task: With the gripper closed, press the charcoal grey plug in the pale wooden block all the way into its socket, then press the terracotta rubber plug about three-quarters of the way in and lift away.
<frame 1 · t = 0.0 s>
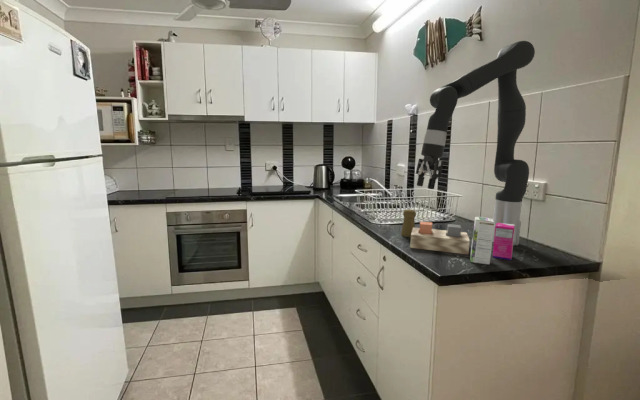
hand: (424, 187, 123), 22 cm above the countertop, tool pointing down, fingers open, 8 cm apart
terracotta plug: (425, 229, 126), point 6 cm above the countertop, slide at 0.0 cm
syrup box: (479, 261, 110), on the countertop
cork: (408, 235, 140), on the countertop
supplement box: (501, 257, 115), on the countertop
grey plug: (453, 232, 123), point 6 cm above the countertop, slide at 0.0 cm
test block: (438, 246, 125), on the countertop
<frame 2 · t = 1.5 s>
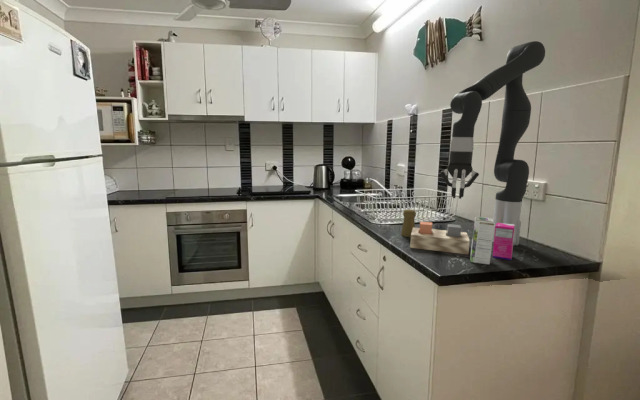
hand: (456, 198, 121), 19 cm above the countertop, tool pointing down, fingers closed
nothing on the countertop moved.
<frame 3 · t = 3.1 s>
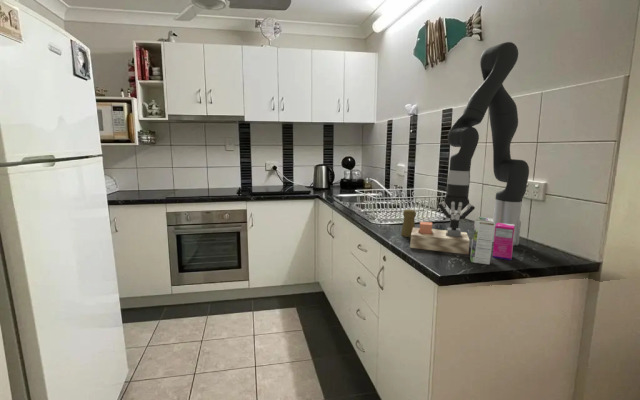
hand: (453, 229, 123), 7 cm above the countertop, tool pointing down, fingers closed
grey plug: (453, 235, 123), point 5 cm above the countertop, slide at 1.3 cm, touching gripper
everything else where it was.
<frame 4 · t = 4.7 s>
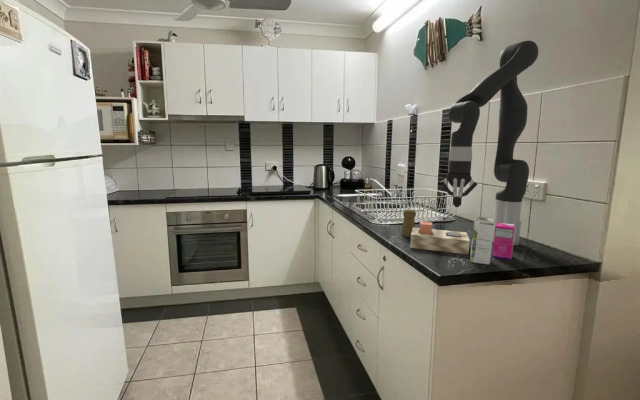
hand: (456, 206, 121), 16 cm above the countertop, tool pointing down, fingers closed
grey plug: (453, 240, 123), point 3 cm above the countertop, slide at 3.1 cm
everything else where it was.
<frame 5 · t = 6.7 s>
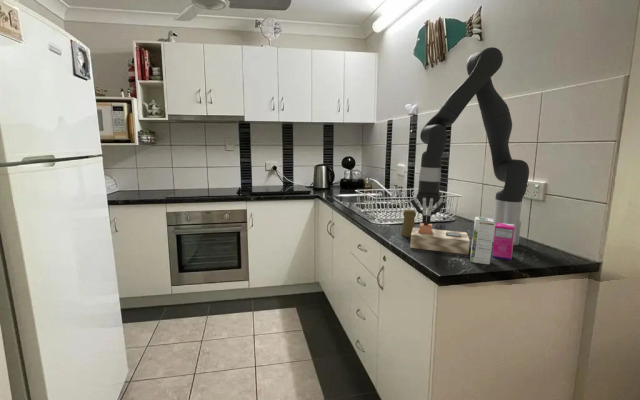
hand: (425, 224, 126), 8 cm above the countertop, tool pointing down, fingers closed
terracotta plug: (425, 231, 126), point 5 cm above the countertop, slide at 0.6 cm, touching gripper
everything else where it was.
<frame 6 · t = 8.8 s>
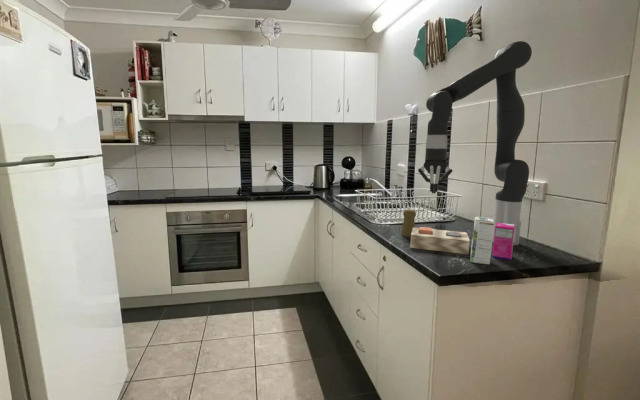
hand: (433, 193, 127), 20 cm above the countertop, tool pointing down, fingers closed
terracotta plug: (425, 235, 126), point 4 cm above the countertop, slide at 2.2 cm
everything else where it was.
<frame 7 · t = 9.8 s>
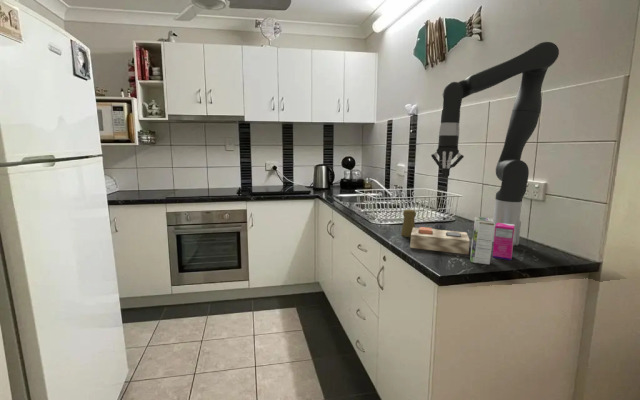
hand: (445, 177, 136), 25 cm above the countertop, tool pointing down, fingers closed
nothing on the countertop moved.
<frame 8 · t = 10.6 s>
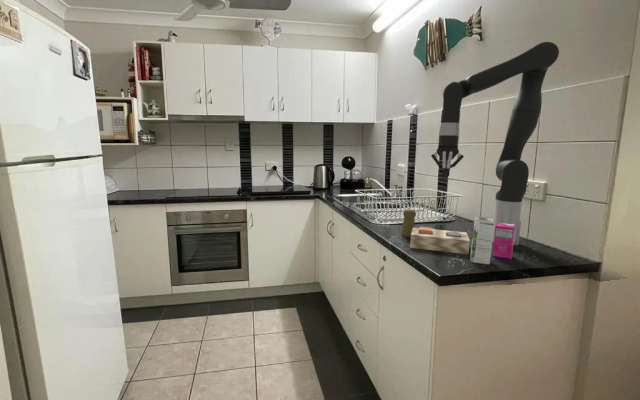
hand: (445, 177, 136), 25 cm above the countertop, tool pointing down, fingers closed
nothing on the countertop moved.
at the end: grey plug slide at 3.1 cm; terracotta plug slide at 2.2 cm; the gripper is holding nothing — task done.
